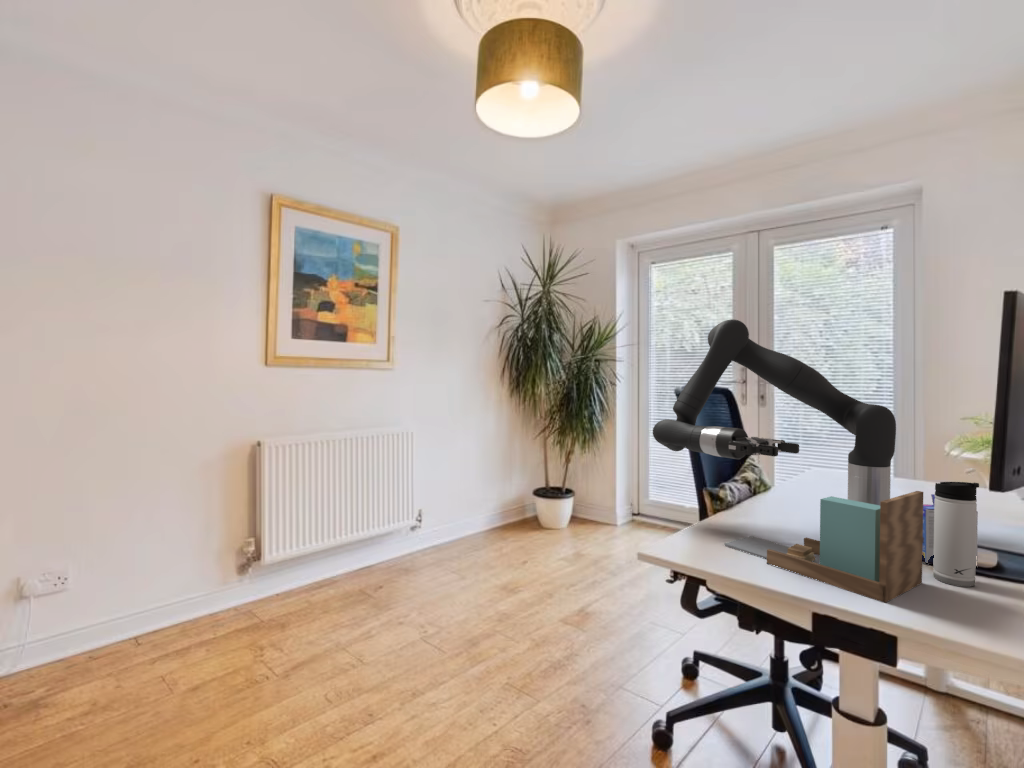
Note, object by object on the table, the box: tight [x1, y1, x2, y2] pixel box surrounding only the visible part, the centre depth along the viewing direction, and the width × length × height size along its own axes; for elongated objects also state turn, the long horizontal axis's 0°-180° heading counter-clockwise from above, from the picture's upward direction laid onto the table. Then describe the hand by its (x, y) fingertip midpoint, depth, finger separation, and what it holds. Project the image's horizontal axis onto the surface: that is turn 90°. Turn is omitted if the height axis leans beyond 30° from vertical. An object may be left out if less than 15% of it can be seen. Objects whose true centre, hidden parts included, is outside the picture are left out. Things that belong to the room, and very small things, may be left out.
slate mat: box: [724, 535, 790, 560], centre depth 117 cm, size 11×12×1 cm
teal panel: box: [819, 496, 880, 582], centre depth 101 cm, size 5×10×15 cm, turn 32°
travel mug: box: [932, 481, 980, 588], centre depth 99 cm, size 6×7×20 cm
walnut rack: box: [766, 490, 924, 603], centre depth 103 cm, size 16×22×18 cm
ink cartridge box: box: [922, 493, 979, 563], centre depth 109 cm, size 10×6×14 cm, turn 78°
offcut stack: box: [787, 543, 816, 562], centre depth 110 cm, size 6×4×3 cm, turn 129°
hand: (788, 450), depth 112 cm, fingers open, 8 cm apart
